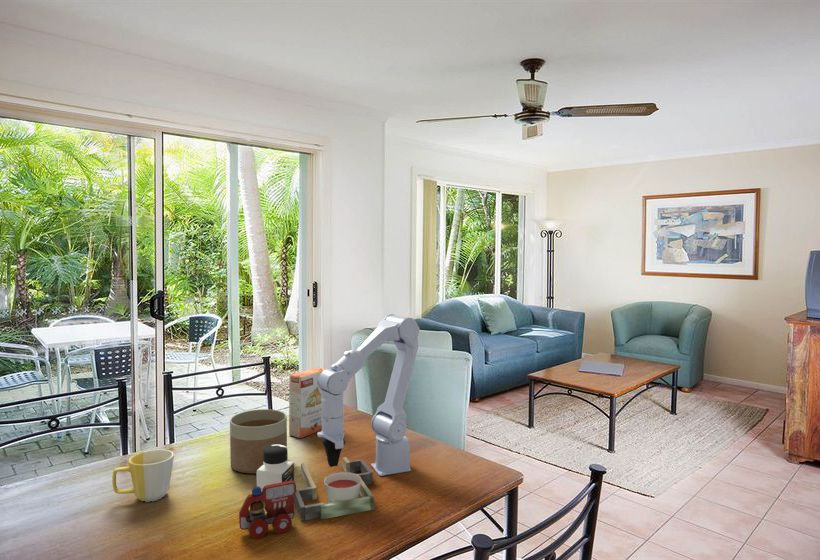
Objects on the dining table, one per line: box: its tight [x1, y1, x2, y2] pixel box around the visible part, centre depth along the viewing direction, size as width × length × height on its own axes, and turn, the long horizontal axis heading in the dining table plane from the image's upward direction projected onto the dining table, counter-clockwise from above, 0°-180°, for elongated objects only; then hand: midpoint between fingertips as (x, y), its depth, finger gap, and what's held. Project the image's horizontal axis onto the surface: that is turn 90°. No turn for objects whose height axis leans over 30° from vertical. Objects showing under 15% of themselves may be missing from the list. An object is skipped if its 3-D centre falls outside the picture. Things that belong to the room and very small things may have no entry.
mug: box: [111, 448, 175, 503], centre depth 132 cm, size 14×10×10 cm
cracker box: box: [288, 367, 327, 439], centre depth 179 cm, size 14×6×21 cm, turn 147°
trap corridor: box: [294, 456, 375, 521], centre depth 137 cm, size 22×26×3 cm
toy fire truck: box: [238, 480, 297, 539], centre depth 118 cm, size 7×12×10 cm, turn 112°
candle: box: [323, 471, 361, 504], centre depth 129 cm, size 9×9×6 cm
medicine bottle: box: [256, 444, 295, 492], centre depth 135 cm, size 7×7×12 cm
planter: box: [229, 408, 288, 474], centre depth 153 cm, size 16×16×14 cm
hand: (333, 465), depth 139 cm, fingers closed
